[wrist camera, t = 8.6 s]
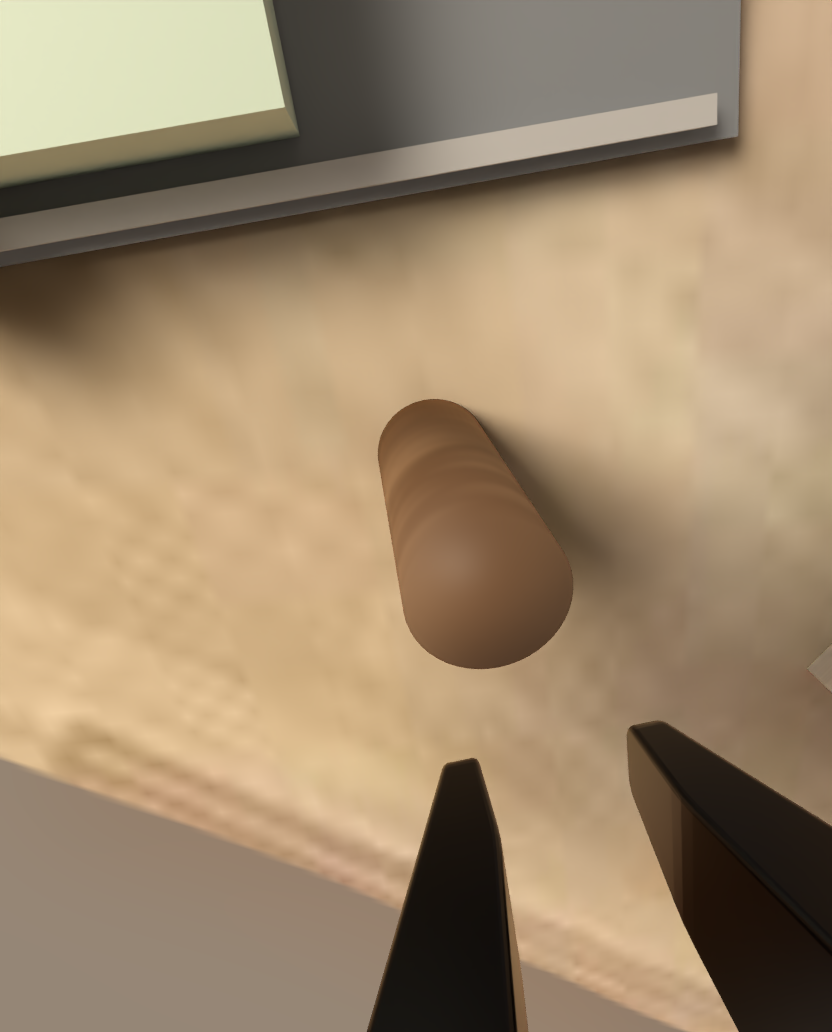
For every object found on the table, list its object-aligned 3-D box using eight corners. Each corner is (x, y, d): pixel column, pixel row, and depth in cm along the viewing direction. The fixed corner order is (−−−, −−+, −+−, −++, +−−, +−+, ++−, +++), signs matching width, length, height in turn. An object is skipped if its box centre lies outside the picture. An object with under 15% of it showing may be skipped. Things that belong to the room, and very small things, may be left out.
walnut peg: (479, 389, 19) (566, 502, 12) (492, 492, 20) (578, 651, 13) (368, 410, 19) (388, 535, 12) (388, 512, 20) (417, 683, 13)
